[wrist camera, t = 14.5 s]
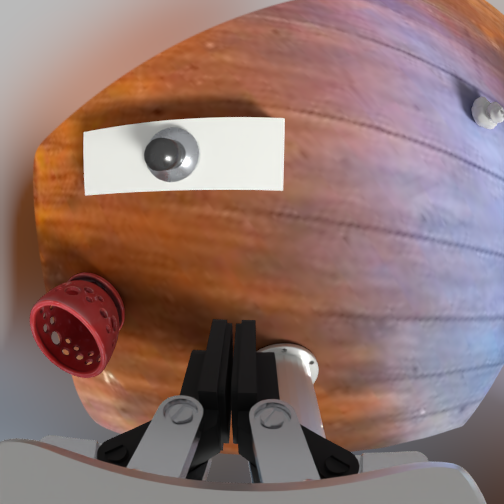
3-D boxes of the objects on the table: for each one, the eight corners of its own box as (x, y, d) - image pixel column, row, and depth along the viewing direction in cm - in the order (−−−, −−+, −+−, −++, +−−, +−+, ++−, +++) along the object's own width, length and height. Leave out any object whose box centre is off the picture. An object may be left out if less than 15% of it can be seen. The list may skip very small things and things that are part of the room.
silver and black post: (207, 177, 35) (190, 184, 25) (162, 179, 35) (131, 187, 25) (207, 131, 33) (191, 120, 23) (161, 133, 33) (131, 126, 23)
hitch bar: (278, 185, 36) (282, 190, 30) (104, 189, 35) (85, 195, 30) (279, 124, 33) (284, 118, 28) (103, 134, 33) (83, 132, 28)
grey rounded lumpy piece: (461, 106, 31) (493, 102, 23) (479, 92, 29) (509, 88, 22) (475, 135, 32) (508, 136, 24) (492, 119, 31) (523, 119, 23)
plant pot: (83, 335, 43) (52, 375, 32) (59, 268, 39) (16, 300, 28) (144, 335, 43) (118, 384, 32) (121, 261, 39) (81, 298, 27)
